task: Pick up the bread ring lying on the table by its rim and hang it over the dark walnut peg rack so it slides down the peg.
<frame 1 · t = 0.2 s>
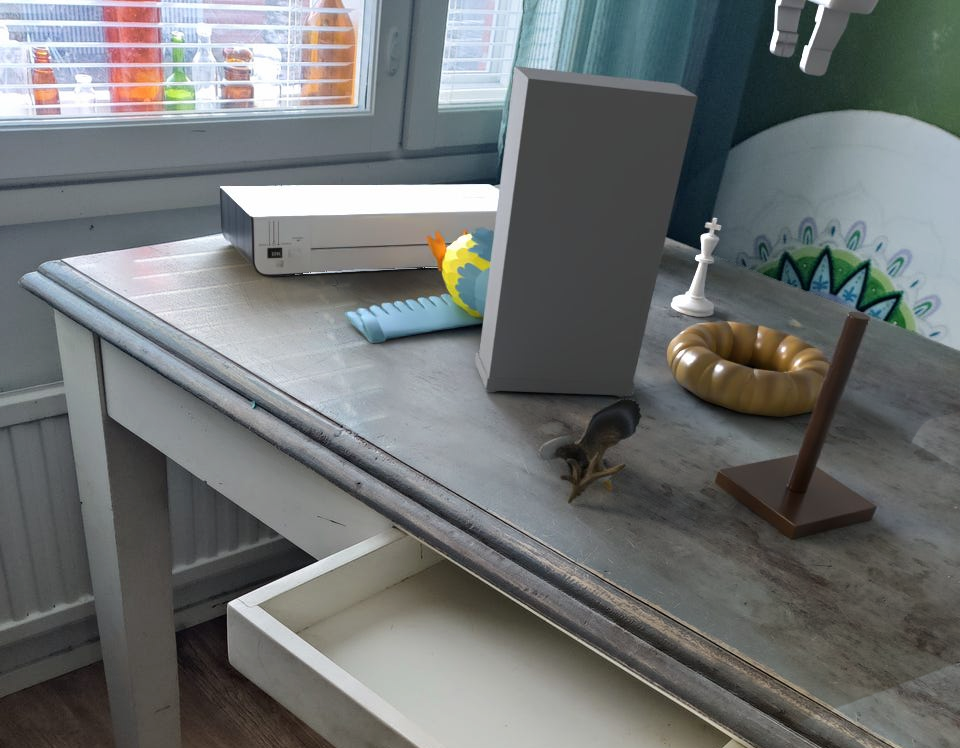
hand: (795, 64, 82), 27 cm above the table, tool pointing down, fingers open, 8 cm apart
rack: (792, 500, 79), on the table
gray rectangular block: (551, 383, 92), on the table
blue yellow toy: (481, 323, 102), on the table
eagle figurine: (584, 484, 78), on the table
laminator: (381, 257, 115), on the table
bread ring: (750, 367, 96), point 2 cm above the table
chess piece: (691, 310, 113), on the table
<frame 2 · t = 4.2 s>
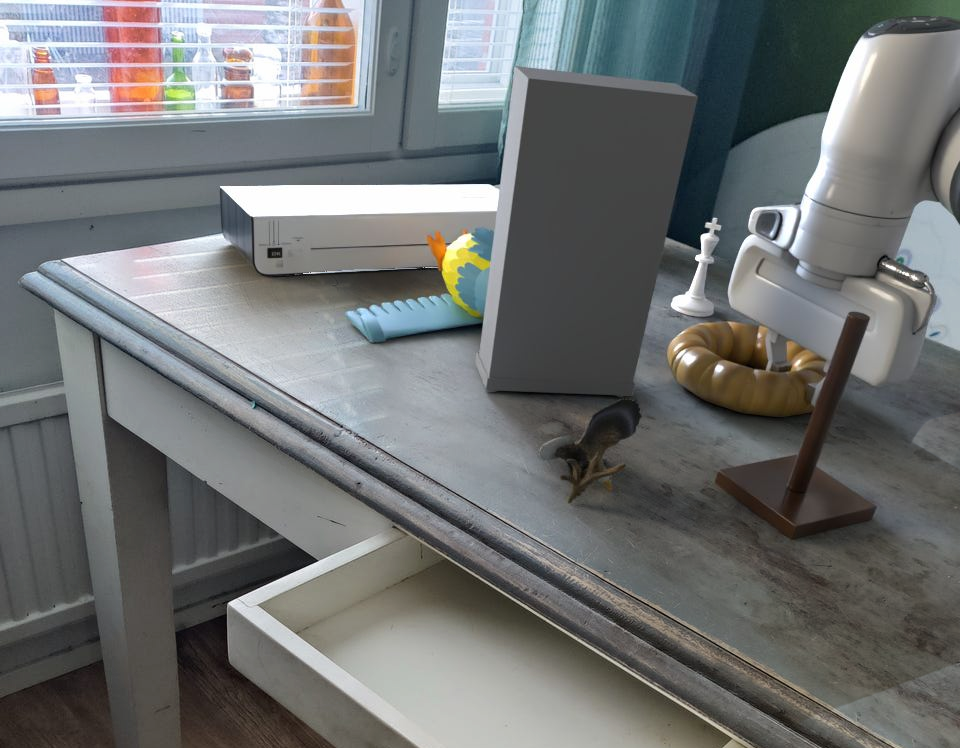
hand: (794, 391, 92), 2 cm above the table, tool pointing down, fingers closed on bread ring, 4 cm apart
bread ring: (750, 367, 96), point 2 cm above the table, touching gripper
everything else where it was.
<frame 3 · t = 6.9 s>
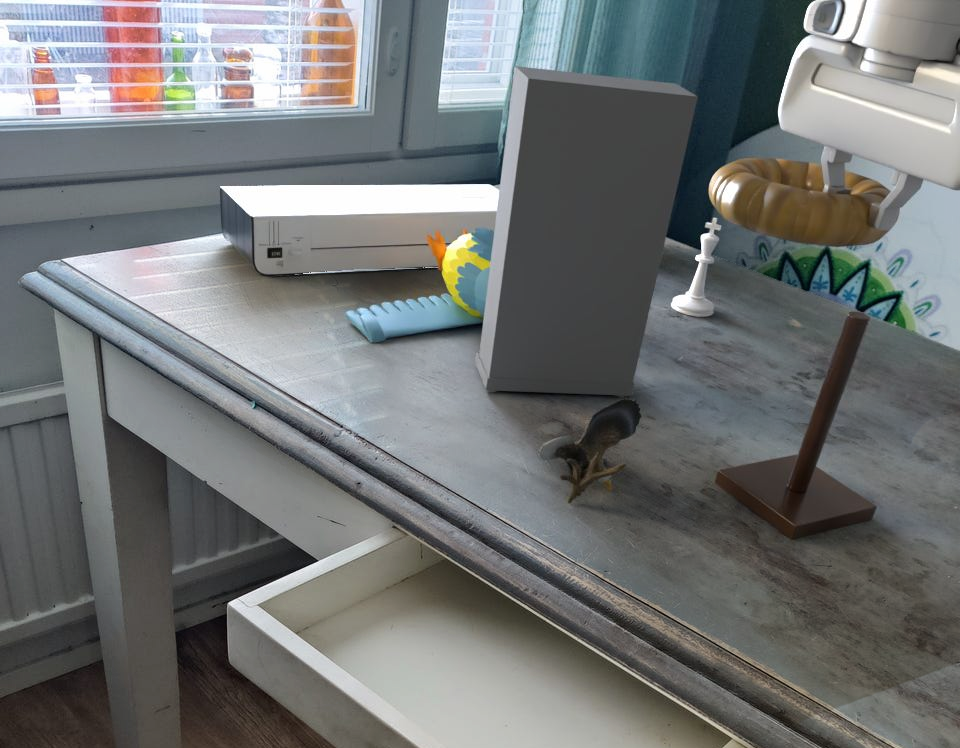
hand: (854, 218, 82), 18 cm above the table, tool pointing down, fingers closed on bread ring, 4 cm apart
bread ring: (802, 200, 86), point 17 cm above the table, touching gripper
everything else where it was.
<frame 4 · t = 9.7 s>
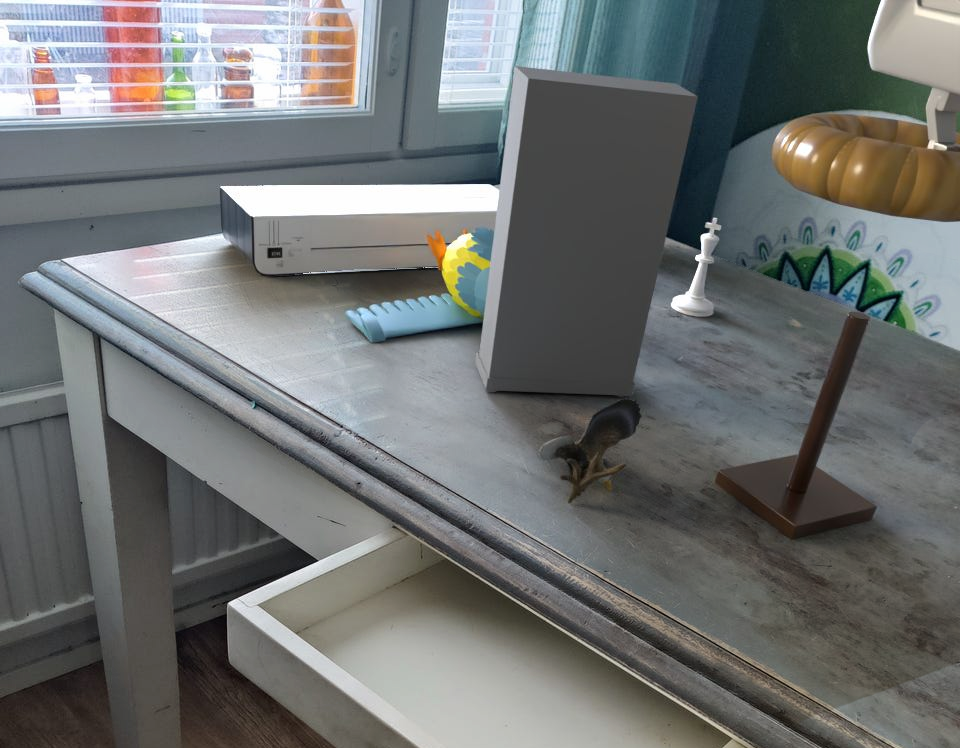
bread ring: (894, 165, 67), point 24 cm above the table, touching gripper
everything else where it was.
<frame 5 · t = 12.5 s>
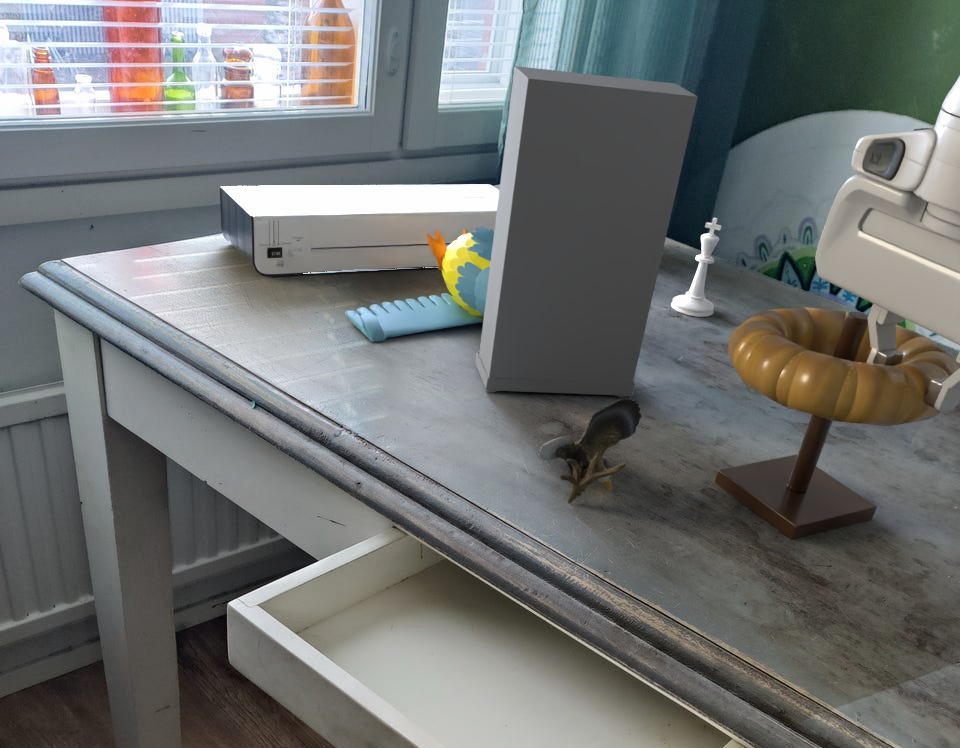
hand: (907, 390, 68), 12 cm above the table, tool pointing down, fingers closed on bread ring, 4 cm apart
bread ring: (840, 363, 72), point 12 cm above the table, touching gripper
everything else where it was.
when the fingers open (4 cm above the table, at t = 15.2 s): bread ring stays where it is, resting on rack.
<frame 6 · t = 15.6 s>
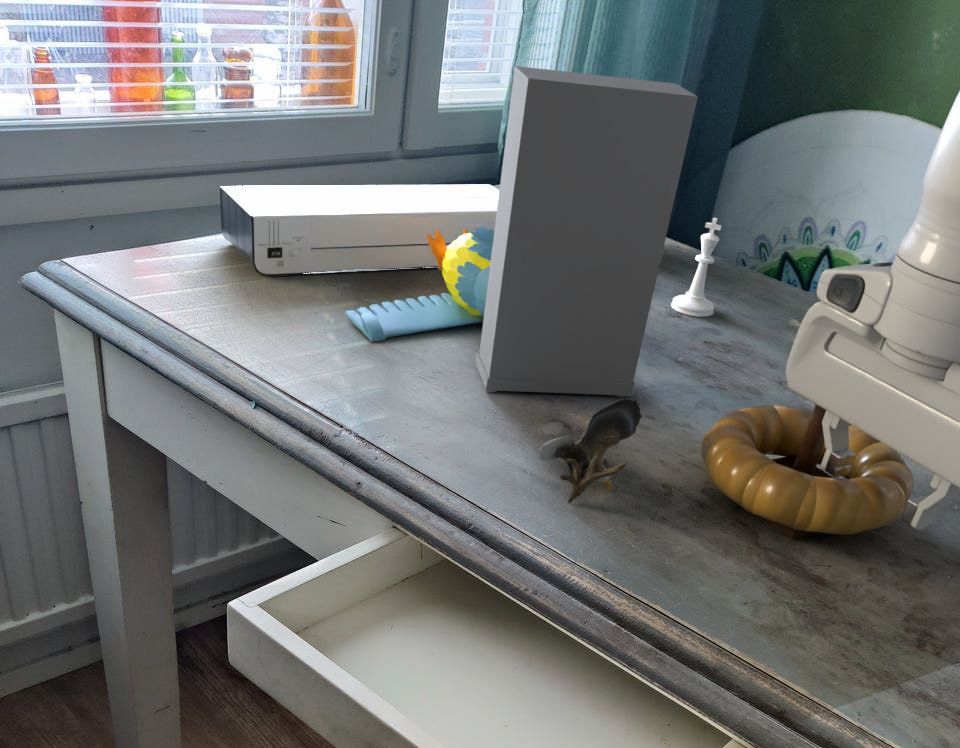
hand: (872, 497, 73), 4 cm above the table, tool pointing down, fingers open, 6 cm apart
bread ring: (805, 466, 77), point 3 cm above the table, touching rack
everything else where it was.
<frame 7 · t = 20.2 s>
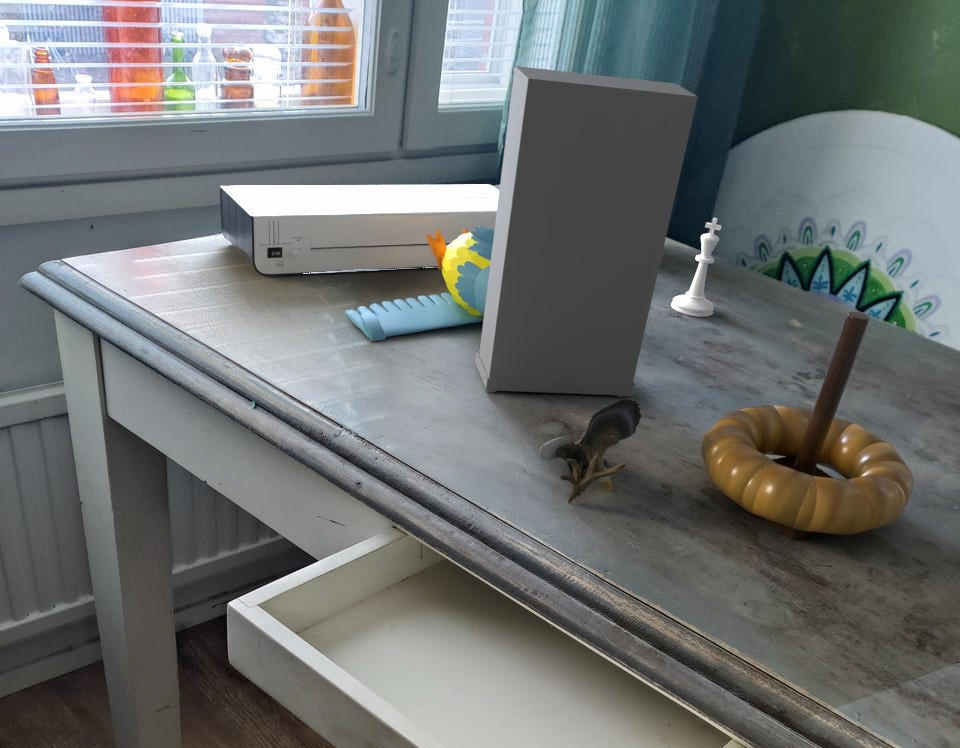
nothing on the table moved.
at the end: bread ring inside the target area on the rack (0.1 cm from its centre), point 3.2 cm above the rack's base; the gripper is holding nothing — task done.
